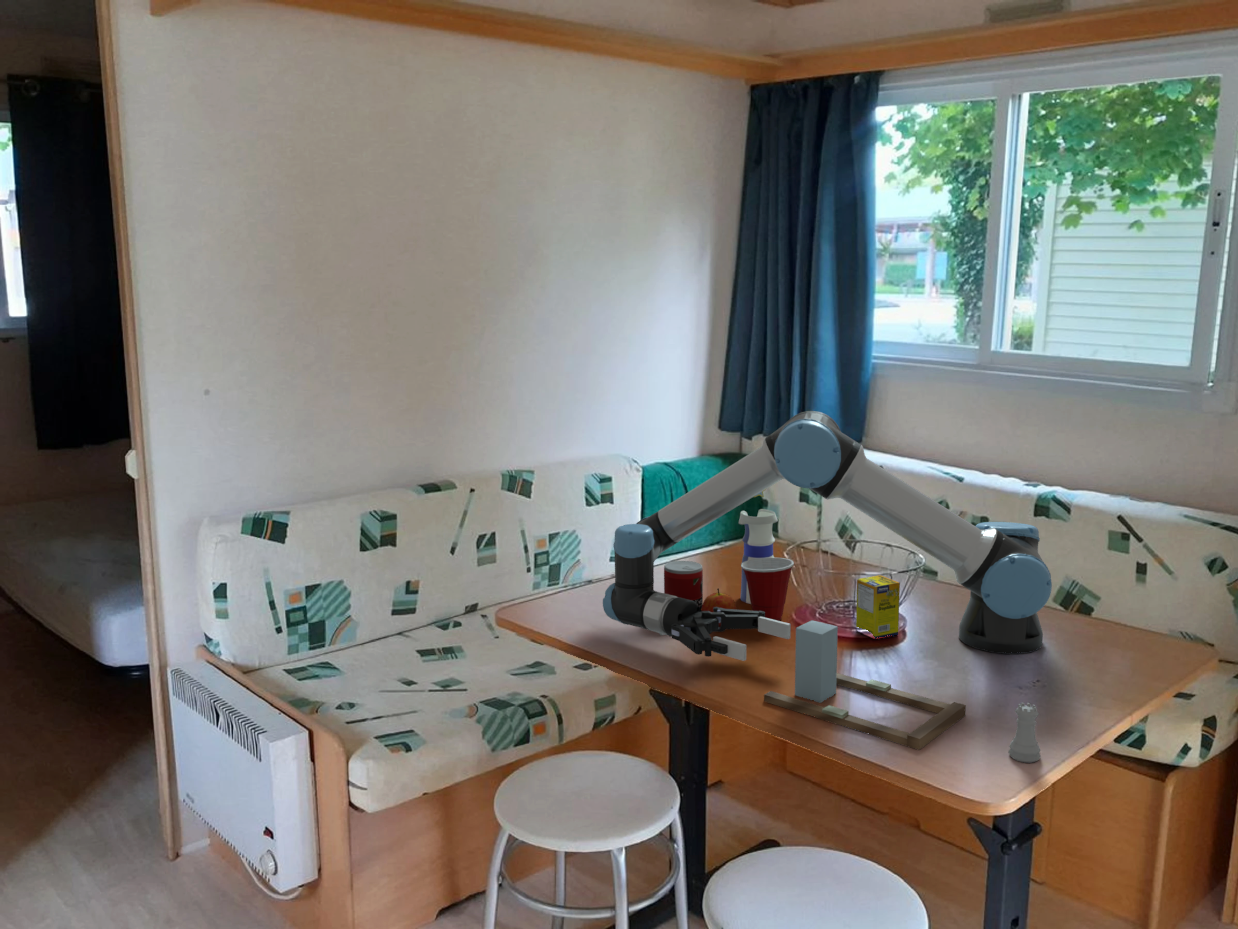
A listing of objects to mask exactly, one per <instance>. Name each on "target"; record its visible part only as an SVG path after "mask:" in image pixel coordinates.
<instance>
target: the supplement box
mask: <svg viewBox="0 0 1238 929" xmlns="http://www.w3.org/2000/svg"><path fill="white" fill-rule="evenodd" d="M900 586H901V583H900V582H899V581H897V580H893V579H892V578H888V577H887V576H884V575H881V574H878V575H873V576H867V577H862V578H858V579H856V610H855V611H856V616H855V617H856V619H855V622H856V623H855V628H856V627H859V628H862V629H866V630H868V631H869V632H871V633H872V634H873V636H874V637H875V639H876V638H877V637H878V638H879V637H885V636H886V637H887V635H888V636H889V635H890V636H891V635H892V636H893V637H895V636H894V635H898V636H899V626H900V625H899V624H900V623H899V622H900V621H899V620H900V618H899V616H900V593H901V592H900V590H901V589H900Z"/></svg>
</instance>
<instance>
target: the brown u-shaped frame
mask: <svg viewBox="0 0 1238 929" xmlns="http://www.w3.org/2000/svg"><path fill="white" fill-rule="evenodd" d="M837 685H838V686H841V687H843V688H844V687H845V688H848V689H852V690H855V691H859V692H861V691H862V693H866V694H868V693H869V695H872V696H875V695H876V697H879V696H880V698H882V697H883V699H886V700H889V699H890V701H893V702H897V703H901V704H903V705H907V706H911V707H913V708H918V709H921V710H925V711H928V712H931V713H935V715H933V716H932V717H931V718H929V719H928V720H926V721H925V722H924V723H922V724H921V725H920V726H918V727H917V728H916V729H914V730H912V731H911V732H906V731H904V730H900V729H897V728H893V727H890V726H887V725H883V724H881V723H877V722H873V721H871V720H868V719H864V718H862V717H857V716H854V715H851V714H849V713H850V712H849V710H847V709H844V708H840V707H836V706H833V705H830V704H828V705H827V706H821V705H818V704H815V703H811V702H809V701H805V700H802V699H799V698H795V697H792V696H788V695H786V694H782V693H779V692H775V691H773V690H770V691H768V692H766V693H764V695H763V702H765V703H768V704H770V705H771V704H772V705H774V706H778V707H781V708H784V709H787V710H790V711H794V712H797V713H799V714H803V713H805V714H804V715H806V714H808V715H807V716H809V715H811V716H810V717H812V716H815V717H816V719H819V718H820V719H819V720H822V719H823V721H825V720H826V721H825V722H828V721H829V723H831V722H832V723H833V724H835V723H836V724H835V725H838V724H839V725H838V726H841V725H842V726H841V727H844V726H846V727H845V728H847V727H849V728H848V729H851V728H852V729H851V730H854V729H856V730H855V731H857V730H859V731H858V732H860V731H862V732H861V733H863V732H865V733H864V734H866V733H869V734H868V735H870V736H872V737H876V738H879V737H880V738H879V739H882V738H883V739H882V740H886V741H889V740H890V741H889V742H892V741H893V742H892V743H895V742H896V743H895V744H898V743H899V744H898V745H901V744H902V746H906V747H908V746H909V748H911V747H912V748H911V749H914V748H915V750H917V749H918V751H920V750H921V749H923V748H924V747H925V746H927V745H928V744H930V743H931V742H932V741H933V740H935V739H937V738H938V737H939V736H941V735H942V734H943V733H944V732H945V731H947V730H948V729H950V728H951V727H952V726H954V725H955V724H956V723H958V722H959V721H960V720H961V719H963V718H964V717H966V708H967V707H966V706H967V704H963V703H959V702H957V701H956V702H955V701H952V703H947V702H943V701H940V700H937V699H936V700H935V699H932V698H929V697H924V696H922V695H918V694H915V693H910V692H908V691H905V690H900V689H896V688H892V684H890V683H886V682H883V681H880V680H876V679H873V678H872V679H869V680H865V679H860V678H856V677H854V676H853V677H852V676H849V675H846V674H843V673H839V672H837V676H836V686H837ZM815 717H814V718H815ZM922 747H923V748H922Z"/></svg>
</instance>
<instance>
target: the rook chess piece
mask: <svg viewBox="0 0 1238 929" xmlns="http://www.w3.org/2000/svg"><path fill="white" fill-rule="evenodd" d="M1025 704H1026V703H1025V702H1020V703H1018V705H1017V708H1016V709H1015V710H1014V712H1015V713H1016V715H1017V719H1015V721H1016V724H1017V727H1016V730H1015V731H1016V732H1015V736H1014V737H1013V738H1012V741H1010V744H1009V746H1008V747H1009V750H1008V755H1009V756H1010V757H1011V758H1012V759H1013V760H1014V761H1017V762H1020V763H1023V764H1024V763H1025V764H1033V763H1036V762H1038V760H1040V759H1041V754H1040V752H1041V751H1042V750H1041V746H1040V745H1039V744H1038V740H1037V738H1036V725H1037V721H1036V718H1037V717H1038V716H1039V715H1040V713H1039V712H1038V710H1037V706H1036V705H1035V704H1031V703H1029V702H1027V704H1026V705H1025Z"/></svg>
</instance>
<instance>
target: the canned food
mask: <svg viewBox="0 0 1238 929" xmlns="http://www.w3.org/2000/svg"><path fill="white" fill-rule="evenodd" d="M663 566H664V567H663V593H665V594H669V595H674V596H677V597H680V598H684V599H688V600H692V601H694V602H696V603H697V604H698V606H699V608H700V609H701V611H702V605H703V602H704V600H703V590H704V589H703V586H704V584H703V583H704V582H703V580H704V578H703V576H704V575H703V574H704V573H703V572H704V571H703V570H704V569H703V565H702V564H701V563H699V562H696V561H692V560H691V561H690V560H674V561H669V562H667V563H665V564H664V565H663Z"/></svg>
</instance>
